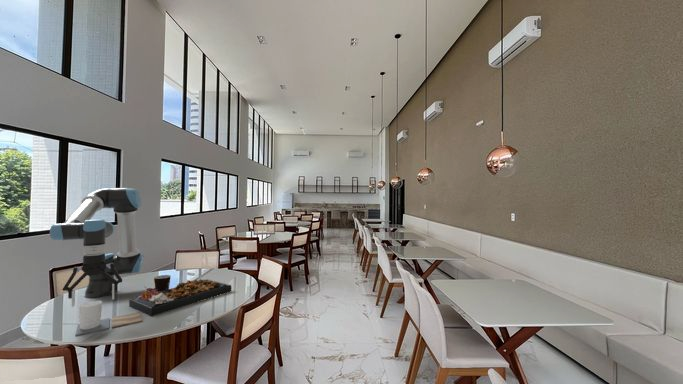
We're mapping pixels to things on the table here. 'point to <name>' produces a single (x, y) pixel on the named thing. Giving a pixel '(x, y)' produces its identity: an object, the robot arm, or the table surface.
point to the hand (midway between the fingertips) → (93, 302)
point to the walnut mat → (126, 319)
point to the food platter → (177, 296)
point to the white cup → (90, 314)
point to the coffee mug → (162, 282)
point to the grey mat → (103, 326)
